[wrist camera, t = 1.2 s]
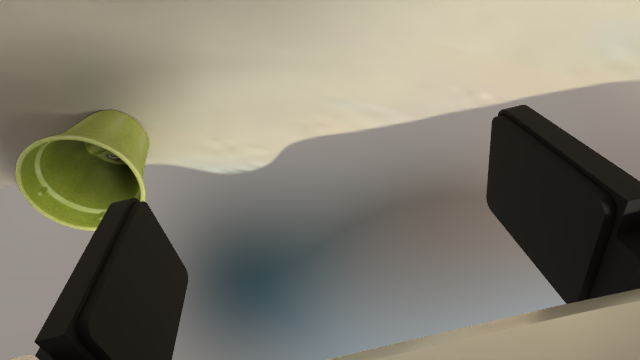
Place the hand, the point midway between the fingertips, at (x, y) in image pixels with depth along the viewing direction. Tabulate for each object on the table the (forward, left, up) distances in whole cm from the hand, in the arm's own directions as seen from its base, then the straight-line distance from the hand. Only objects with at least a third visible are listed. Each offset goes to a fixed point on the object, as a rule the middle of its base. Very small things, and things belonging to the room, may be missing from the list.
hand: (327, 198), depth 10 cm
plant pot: (+21, +1, -28) cm, 35 cm away
